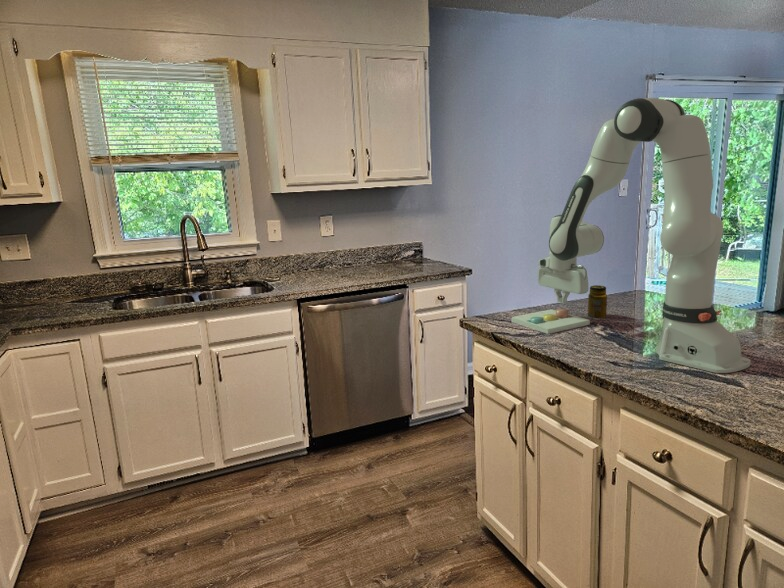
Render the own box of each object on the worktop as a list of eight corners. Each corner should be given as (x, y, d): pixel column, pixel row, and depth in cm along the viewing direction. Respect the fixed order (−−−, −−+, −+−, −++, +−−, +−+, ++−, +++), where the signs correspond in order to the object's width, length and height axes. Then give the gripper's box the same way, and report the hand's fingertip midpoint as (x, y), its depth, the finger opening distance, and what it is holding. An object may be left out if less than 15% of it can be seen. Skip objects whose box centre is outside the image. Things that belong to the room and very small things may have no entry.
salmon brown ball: (571, 320, 175) (571, 310, 174) (561, 322, 173) (561, 312, 172) (562, 317, 178) (562, 308, 178) (552, 319, 177) (553, 310, 176)
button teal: (546, 328, 170) (546, 318, 170) (536, 330, 169) (536, 320, 168) (537, 325, 174) (537, 316, 173) (527, 328, 172) (527, 318, 172)
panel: (589, 328, 170) (589, 319, 169) (547, 338, 162) (547, 329, 161) (551, 317, 185) (551, 309, 185) (511, 325, 178) (511, 317, 177)
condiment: (610, 319, 179) (612, 285, 176) (600, 325, 173) (601, 290, 171) (590, 316, 184) (591, 283, 181) (579, 321, 178) (580, 288, 176)
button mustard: (558, 326, 173) (558, 316, 172) (549, 328, 171) (549, 318, 170) (549, 323, 176) (550, 313, 176) (540, 325, 175) (540, 315, 174)
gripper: (593, 265, 164) (592, 306, 167) (548, 258, 182) (548, 295, 185) (579, 267, 161) (578, 309, 164) (534, 260, 179) (534, 298, 182)
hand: (561, 302), depth 174 cm, fingers closed
